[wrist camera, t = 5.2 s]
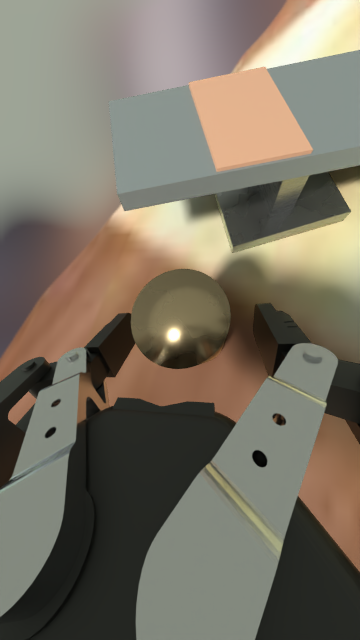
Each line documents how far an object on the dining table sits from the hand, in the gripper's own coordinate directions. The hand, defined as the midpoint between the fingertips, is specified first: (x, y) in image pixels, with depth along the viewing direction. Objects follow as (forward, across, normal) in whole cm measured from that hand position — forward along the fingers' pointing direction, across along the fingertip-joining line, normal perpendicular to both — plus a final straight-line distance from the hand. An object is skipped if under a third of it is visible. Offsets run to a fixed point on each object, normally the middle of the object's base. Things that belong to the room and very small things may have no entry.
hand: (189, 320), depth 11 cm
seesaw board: (+11, -8, -10) cm, 17 cm away
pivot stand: (+14, -8, -7) cm, 18 cm away
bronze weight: (+3, 0, +4) cm, 5 cm away
